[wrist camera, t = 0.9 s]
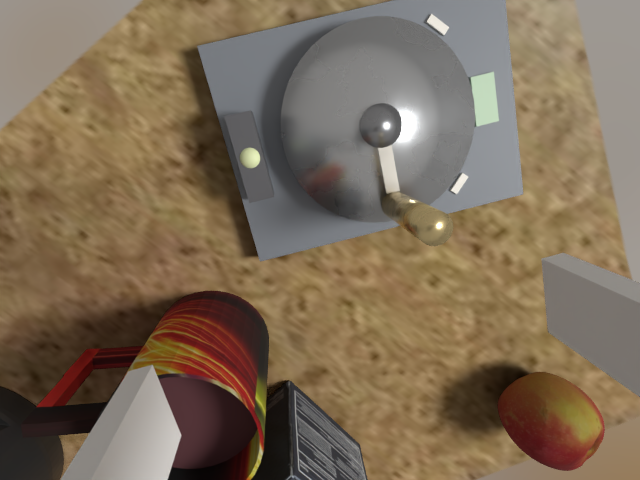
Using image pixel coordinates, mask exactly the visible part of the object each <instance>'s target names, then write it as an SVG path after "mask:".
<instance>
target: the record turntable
mask: <svg viewBox="0 0 640 480" xmlns="http://www.w3.org/2000/svg"><path fill="white" fill-rule="evenodd" d="M372 16H390V17H397V18H402V19H405V20H409V21H412V22H415V23H417V24H419V25H421V26H423V27H425V28H427V29H429V30H430V31H432V32H433V33H435V34H436V35H437V36H438V37H440V38H441V39H442V40H443V41H444V42H445V43H446V44H447V45H448V46H449V47H450V48H451V49H452V51H453V52H454V53H455V54H456V56H457V57H458V59H459V61H460V62H461V64H462V65H463V68H464V70H465V72H466V74H467V76H468V79H469V82H470V85H471V88H472V93H473V98H474V105H475V126H474V134H473V139H472V144H471V147H470V150H469V153H468V156H467V158H466V160H465V163H464V165H463V167H462V169H461V170H460V172H459V174H458V176H457V177H456V179H455V180H454V181H453V183H452V184H451V185H450V186H449V188H448V189H447V190H446V191H445V192H444V193H443V194H442V195H441V196H440V197H439V198H438V199H436V200H435V201H434V202H433V203H431V204H430V205H429V206H432V207H434V208H436V209H438V210H440V211H443V212H445V213H446V214H448V213H452V212H456V211H460V210H464V209H468V208H472V207H475V206H479V205H483V204H487V203H491V202H495V201H499V200H503V199H507V198H511V197H515V196H519V195H522V194H523V186H522V175H521V164H520V153H519V143H518V132H517V121H516V110H515V99H514V88H513V78H512V67H511V56H510V45H509V34H508V23H507V13H506V2H505V0H393V1H388V2H384V3H380V4H376V5H371V6H367V7H363V8H358V9H354V10H350V11H346V12H341V13H337V14H333V15H328V16H324V17H320V18H315V19H311V20H307V21H303V22H298V23H294V24H290V25H285V26H281V27H277V28H273V29H268V30H264V31H260V32H255V33H251V34H247V35H242V36H238V37H234V38H230V39H225V40H221V41H217V42H212V43H208V44H204V45H200V46H197V47H198V50H199V54H200V57H201V61H202V64H203V68H204V71H205V74H206V78H207V81H208V85H209V88H210V92H211V95H212V98H213V102H214V105H215V109H216V112H217V116H218V119H219V122H220V126H221V129H222V133H223V136H224V140H225V143H226V146H227V150H228V153H229V157H230V160H231V164H232V167H233V170H234V174H235V177H236V181H237V184H238V187H239V191H240V194H241V198H242V201H243V205H244V208H245V211H246V215H247V218H248V222H249V225H250V229H251V232H252V235H253V239H254V242H255V246H256V249H257V253H258V256H259V259H260V261H264V260H268V259H272V258H276V257H279V256H283V255H287V254H291V253H295V252H299V251H303V250H307V249H311V248H315V247H319V246H323V245H327V244H330V243H334V242H338V241H342V240H346V239H350V238H354V237H358V236H362V235H366V234H370V233H374V232H377V231H381V230H385V229H389V228H393V227H397V226H400V225H399V224H397V223H396V222H395V221H389V222H379V223H370V222H360V221H355V220H350V219H347V218H345V217H342V216H339V215H337V214H335V213H333V212H331V211H329V210H327V209H326V208H324V207H323V206H322V205H320V204H319V203H317V202H316V201H315V200H314V199H313V198H312V197H311V196H310V195H309V194H308V193H307V192H306V191H305V190H304V188H303V187H302V186H301V185H300V183H299V182H298V180H297V179H296V177H295V176H294V174H293V172H292V170H291V168H290V165H289V163H288V161H287V158H286V155H285V152H284V148H283V143H282V137H281V109H282V104H283V99H284V94H285V91H286V88H287V85H288V82H289V80H290V78H291V76H292V74H293V71H294V69H295V68H296V66H297V65H298V63H299V61H300V60H301V58H302V57H303V56H304V54H305V53H306V52H307V51H308V50H309V49H310V48H311V46H312V45H313V44H315V43H316V42H317V41H318V40H319V39H320V38H321V37H322V36H324V35H325V34H327V33H328V32H330V31H331V30H333V29H335V28H337V27H339V26H341V25H343V24H345V23H347V22H350V21H354V20H357V19H360V18H366V17H372Z"/></svg>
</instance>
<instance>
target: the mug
mask: <svg viewBox="0 0 640 480" xmlns="http://www.w3.org/2000/svg"><path fill="white" fill-rule="evenodd" d="M268 353H269V335H268V330H267V326H266V324H265V322H264V320H263V318H262V316H261V315H260V314H259V312H258V311H257V310H256V309H255V308H254V307H253V306H252V305H251V304H250V303H248V302H247V301H245V300H244V299H242V298H240V297H238V296H235V295H233V294H230V293H226V292H221V291H203V292H198V293H194V294H191V295H188V296H186V297H184V298H182V299H180V300H179V301H177V302H176V303H174V304H173V305H172V306H171V307H170V308H169V309H168V310H167V311H166V313H165V314H164V316H163V317H162V318H161V320H160V322H159V323H158V325H157V326H156V328H155V329H154V331H153V332H152V334H151V335H150V337H149V338H148V340H147V342H146V343H145V345H144V346H136V347H121V348H106V349H87V350H86V351H85V352H84V353H83V354H82V355H81V356H80V357H79V359H78V360H77V361H76V362H75V363H74V364H73V365H72V366H71V367H70V368H69V370H68V371H67V372H66V373H65V374H64V375H63V378H62V379H61V380H60V381H59V382H58V383H57V384H56V386H55V387H54V388H53V389H52V390H51V391H50V392H49V393H48V394H47V396H46V397H45V398H44V399H43V400H42V401H41V402H40V403H39V404H38V406H37V407H36V408H35V409H34V410H33V411H32V412H31V413H30V414H29V416H28V417H27V418H26V419H25V420H24V421H23V422H22V423H21V429H22V435H23V438H25V437H44V436H56V435H68V434H79V433H90V432H91V430H92V429H93V427H94V425H95V424H96V422H97V421H98V419H99V417H100V416H101V414H102V413H103V411H104V409H105V408H106V406H107V405H108V403H109V401H110V400H111V398H112V397H113V395H114V393H115V392H116V390H117V389H118V387H119V385H120V384H121V382H122V381H123V379H124V377H125V376H126V374H127V373H128V371H131V370H135V369H139V368H142V367H146V366H150V365H153V367H154V369H155V372H156V374H157V377H158V379H159V382H160V384H161V386H162V389H163V391H164V394H165V396H166V399H167V401H168V404H169V406H170V409H171V411H172V413H173V416H174V418H175V421H176V423H177V426H178V428H179V431H180V433H181V438H180V442H179V445H178V448H177V451H176V454H175V458H174V461H173V464H172V467H171V471H170V474H169V477H168V480H251V479H252V478H253V476H254V475H255V473H256V471H257V469H258V467H259V465H260V463H261V459H262V455H263V451H264V436H265V415H266V394H267V374H268ZM120 367H130V368H129V369H128V371H127V372H126V374H125V375H124V377H123V379H122V380H121V382H120V383H119V385H118V386H117V388H116V389H115V391H114V392H113V394H112V396H111V397H110V399H109V400H108V402H103V403H91V404H78V405H65V404H66V403H67V402H68V401H69V399H70V398H71V397H72V396H73V394H74V393H75V392H76V391H77V389H78V388H79V387H80V386H81V384H82V383H83V382H84V381H85V379H86V378H87V377H88V376H89V374H90V373H91V372H92V371H93V369H106V368H120Z"/></svg>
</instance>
